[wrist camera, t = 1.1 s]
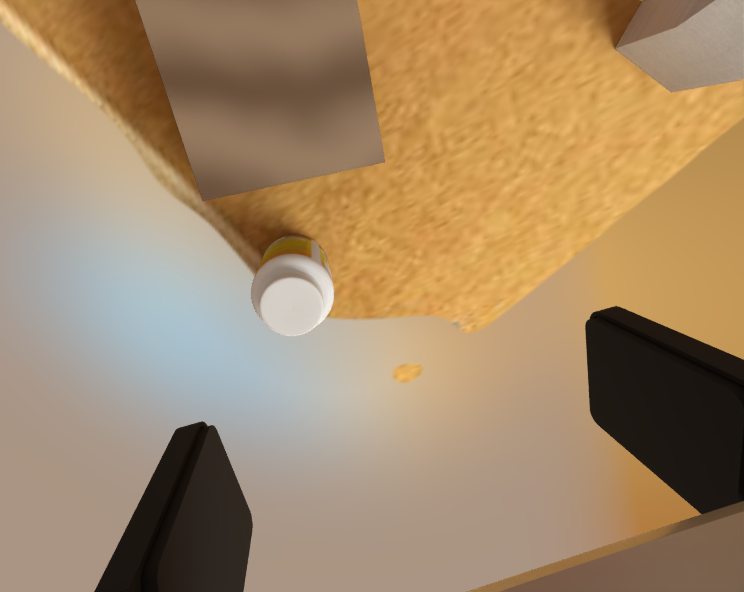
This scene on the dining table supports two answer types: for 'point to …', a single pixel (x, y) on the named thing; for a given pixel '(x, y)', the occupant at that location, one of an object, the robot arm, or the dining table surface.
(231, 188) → the walnut box
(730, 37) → the white carton
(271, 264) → the supplement bottle
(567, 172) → the dining table surface
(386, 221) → the dining table surface
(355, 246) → the dining table surface
